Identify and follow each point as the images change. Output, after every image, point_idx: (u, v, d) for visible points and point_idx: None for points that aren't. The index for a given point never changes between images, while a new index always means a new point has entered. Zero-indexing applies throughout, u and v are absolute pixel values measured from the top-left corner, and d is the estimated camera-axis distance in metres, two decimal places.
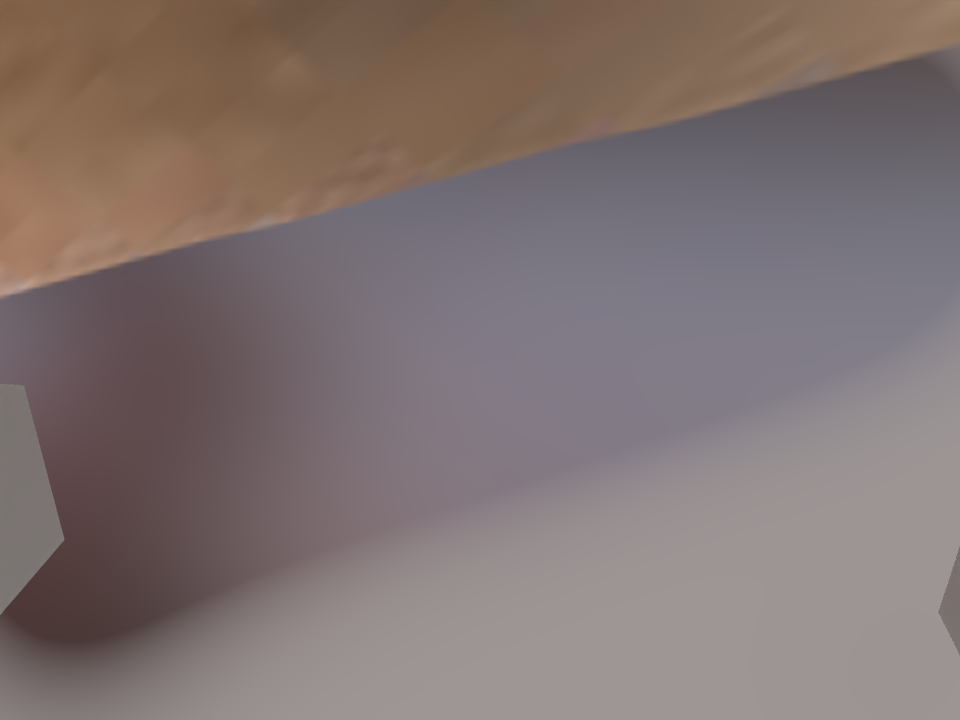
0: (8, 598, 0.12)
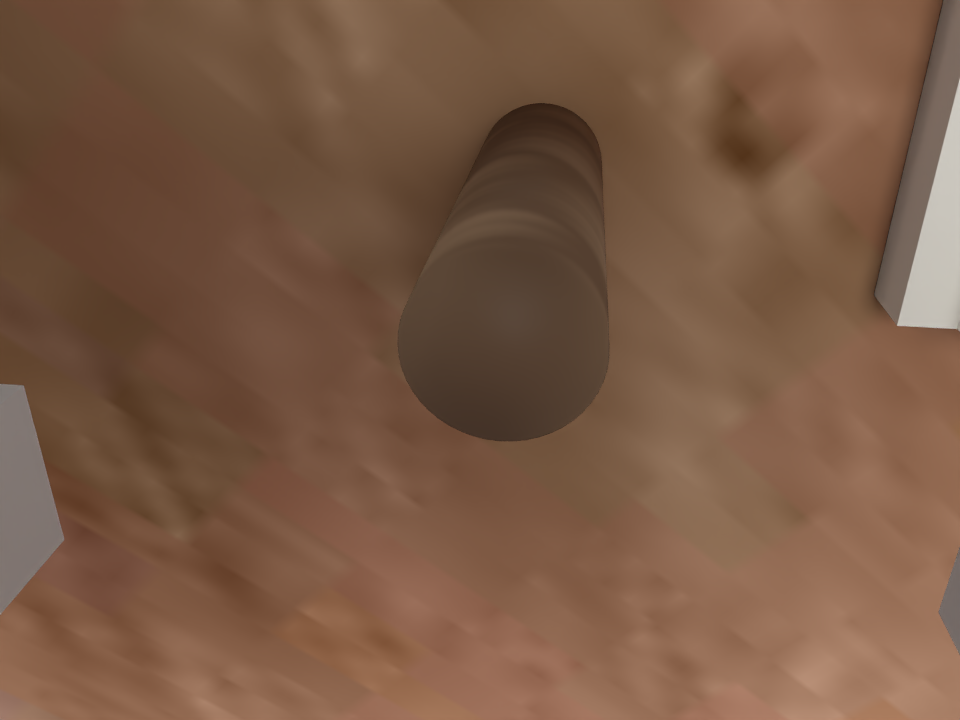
0: (8, 598, 0.12)
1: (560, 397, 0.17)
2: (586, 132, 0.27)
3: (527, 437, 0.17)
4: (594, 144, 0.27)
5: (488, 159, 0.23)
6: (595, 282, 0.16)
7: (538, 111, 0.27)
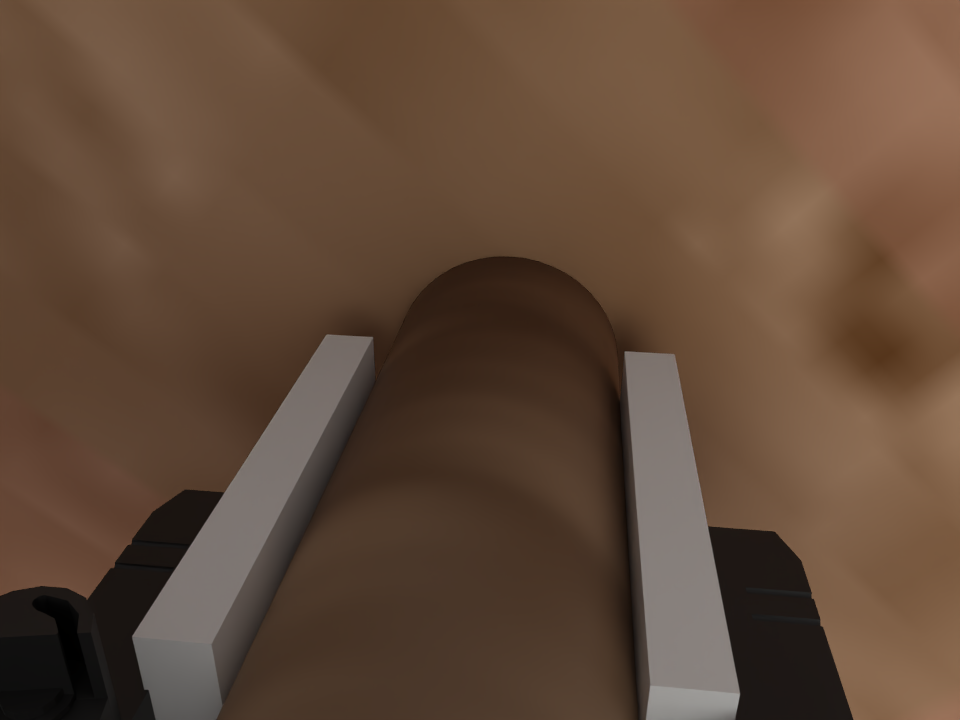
0: None
1: None
2: (590, 324, 0.14)
3: None
4: (605, 345, 0.14)
5: (362, 471, 0.10)
6: None
7: (497, 285, 0.14)
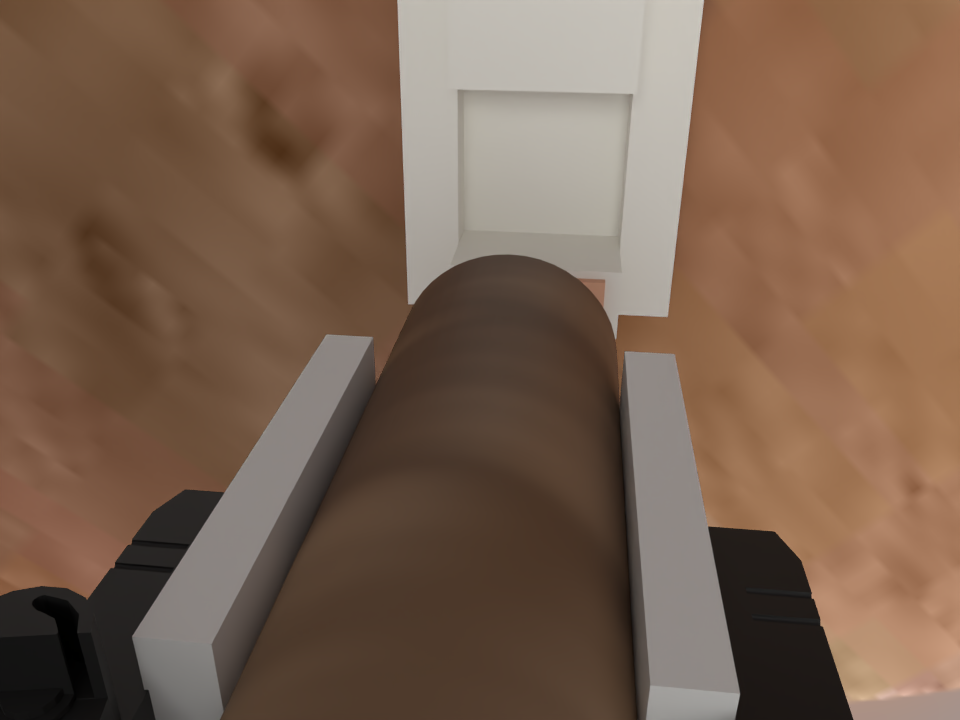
0: None
1: None
2: (589, 319, 0.14)
3: None
4: (604, 340, 0.14)
5: (369, 459, 0.10)
6: None
7: (498, 281, 0.14)
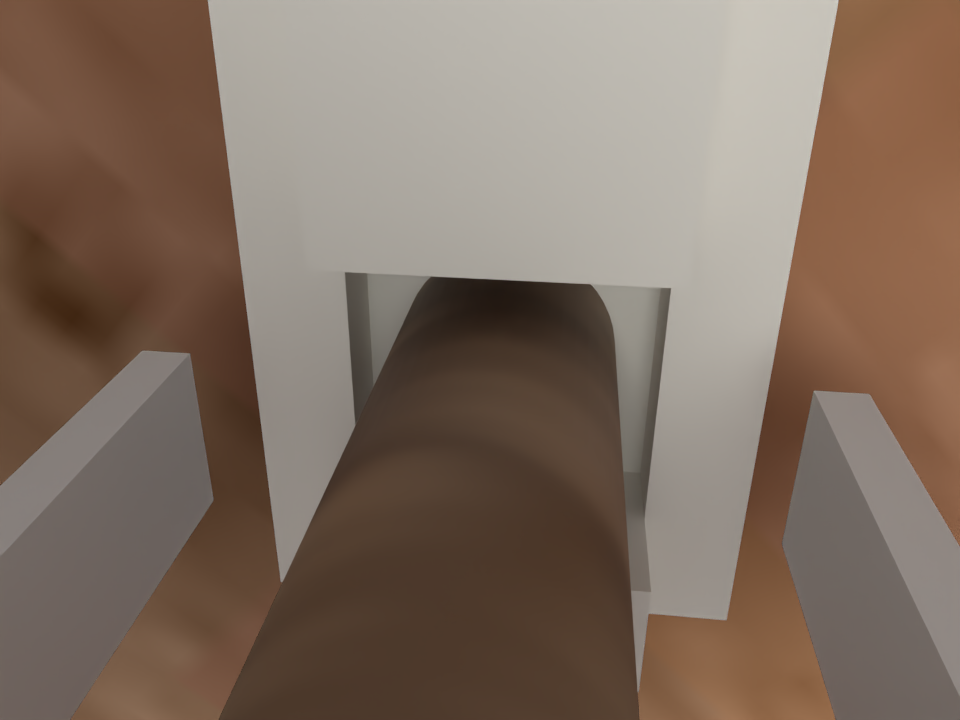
0: (176, 551, 0.13)
1: None
2: (588, 309, 0.14)
3: None
4: (603, 330, 0.15)
5: (376, 440, 0.10)
6: None
7: None
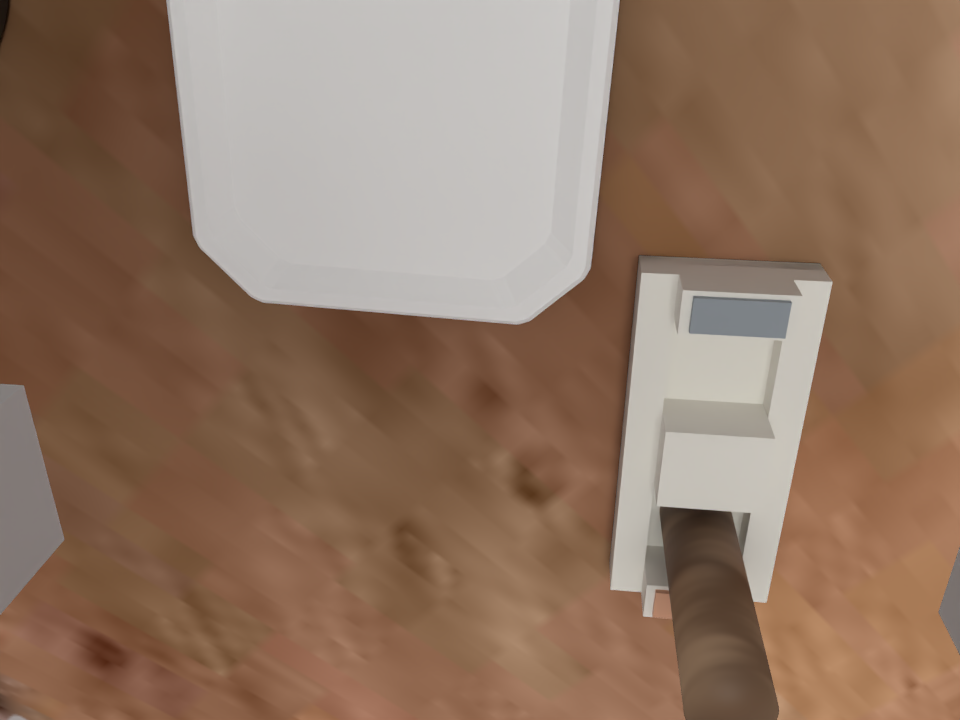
0: (8, 598, 0.12)
1: None
2: None
3: None
4: (730, 513, 0.48)
5: (689, 559, 0.44)
6: (770, 678, 0.37)
7: None
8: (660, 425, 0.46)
